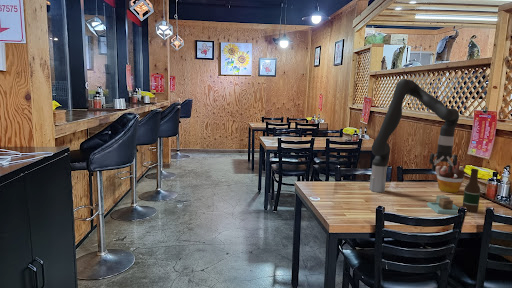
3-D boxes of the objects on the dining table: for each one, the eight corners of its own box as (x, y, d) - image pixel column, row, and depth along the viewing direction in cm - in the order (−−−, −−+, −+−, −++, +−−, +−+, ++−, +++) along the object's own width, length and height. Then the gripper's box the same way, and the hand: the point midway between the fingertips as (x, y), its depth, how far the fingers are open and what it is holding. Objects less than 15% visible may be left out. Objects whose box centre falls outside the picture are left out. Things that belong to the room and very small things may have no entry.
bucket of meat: (452, 195, 225) (456, 165, 222) (428, 189, 239) (431, 161, 236) (469, 192, 235) (472, 163, 232) (445, 186, 249) (448, 158, 246)
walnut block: (442, 209, 194) (443, 200, 193) (438, 206, 198) (439, 197, 198) (452, 209, 193) (453, 200, 192) (447, 206, 198) (448, 198, 197)
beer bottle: (471, 213, 191) (477, 171, 188) (458, 209, 198) (463, 168, 195) (481, 212, 194) (486, 170, 191) (467, 207, 201) (472, 167, 198)
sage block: (441, 206, 203) (442, 197, 202) (435, 203, 208) (436, 195, 207) (449, 205, 204) (450, 197, 204) (442, 203, 209) (443, 195, 208)
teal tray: (437, 213, 190) (438, 210, 189) (427, 205, 203) (427, 202, 203) (464, 214, 189) (464, 211, 188) (451, 206, 202) (452, 203, 202)
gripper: (435, 144, 192) (431, 172, 195) (462, 145, 191) (457, 174, 194) (429, 142, 199) (426, 169, 202) (455, 143, 198) (451, 171, 201)
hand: (441, 171), depth 198 cm, fingers open, 8 cm apart
